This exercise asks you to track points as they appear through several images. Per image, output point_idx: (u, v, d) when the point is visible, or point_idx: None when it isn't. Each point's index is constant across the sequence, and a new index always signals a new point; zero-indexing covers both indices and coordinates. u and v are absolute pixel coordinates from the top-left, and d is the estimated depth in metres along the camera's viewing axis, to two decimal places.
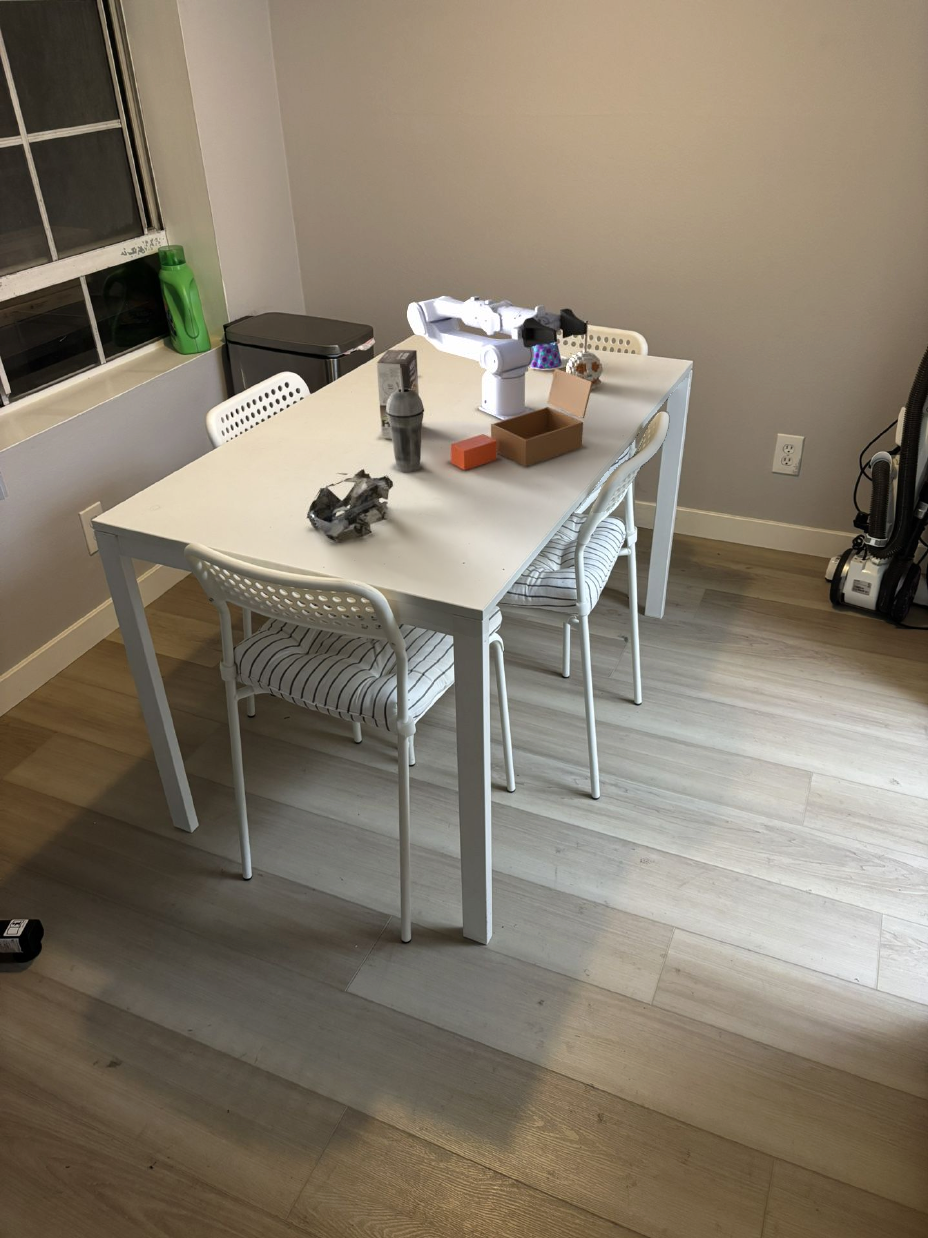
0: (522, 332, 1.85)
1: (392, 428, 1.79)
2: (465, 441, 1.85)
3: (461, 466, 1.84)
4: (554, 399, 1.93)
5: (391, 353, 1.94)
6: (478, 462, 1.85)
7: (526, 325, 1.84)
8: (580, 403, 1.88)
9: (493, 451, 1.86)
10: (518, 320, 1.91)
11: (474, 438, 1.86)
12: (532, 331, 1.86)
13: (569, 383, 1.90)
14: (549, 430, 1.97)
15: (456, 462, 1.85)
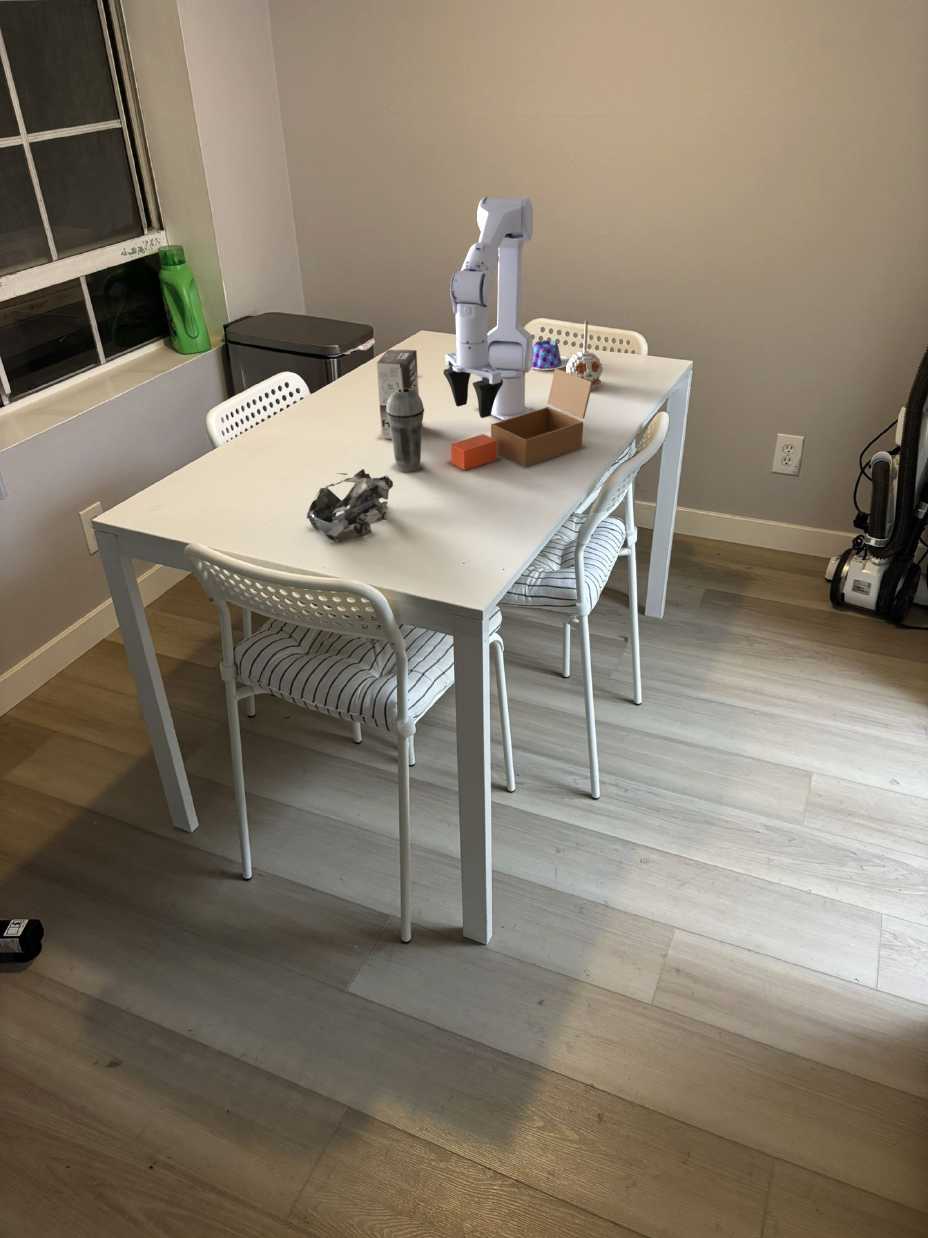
0: None
1: (392, 428, 1.79)
2: (465, 441, 1.85)
3: (461, 466, 1.84)
4: (554, 399, 1.93)
5: (391, 353, 1.94)
6: (478, 462, 1.85)
7: None
8: (580, 403, 1.88)
9: (493, 451, 1.86)
10: None
11: (474, 438, 1.86)
12: None
13: (569, 383, 1.90)
14: (549, 430, 1.97)
15: (456, 462, 1.85)
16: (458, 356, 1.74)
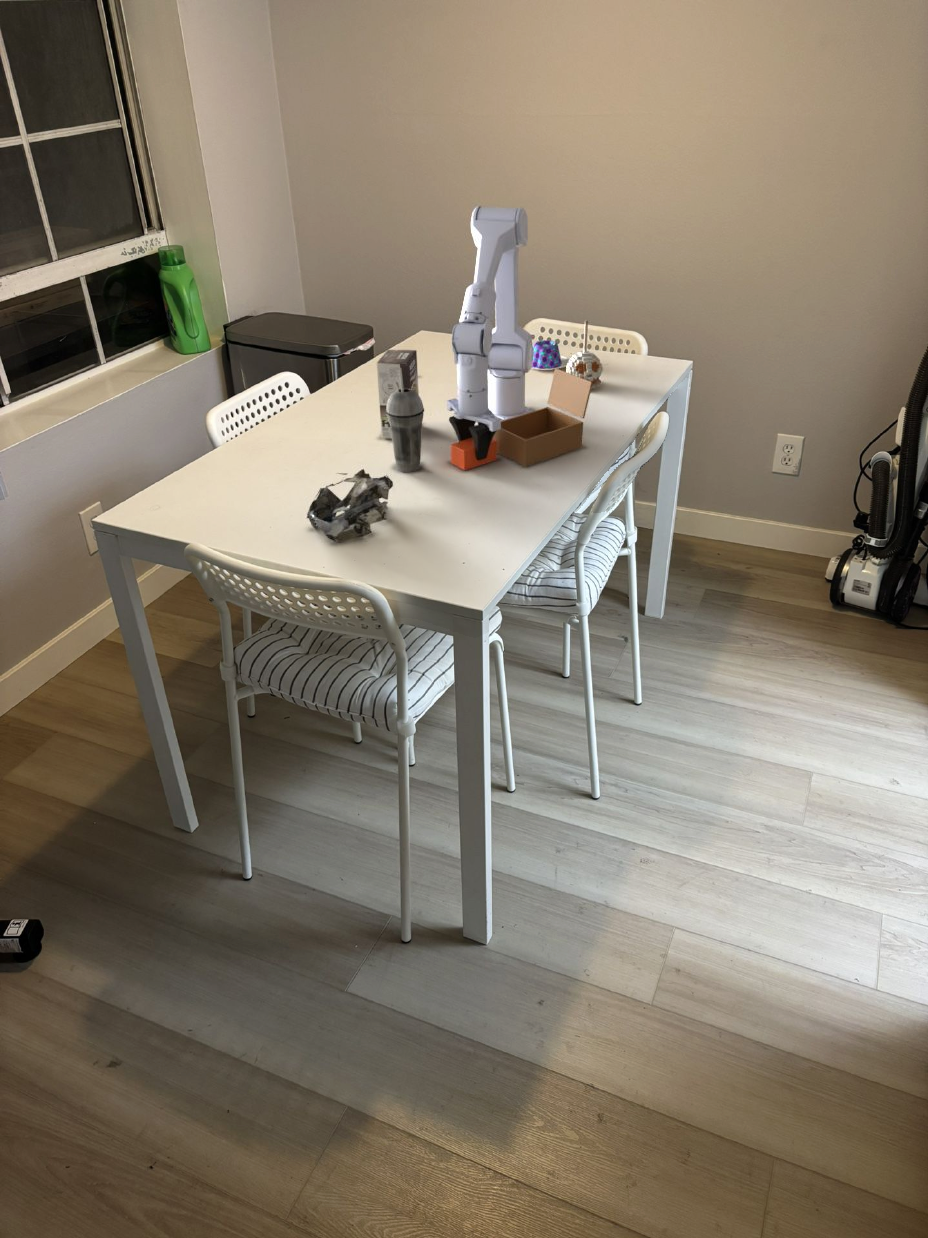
0: None
1: (392, 428, 1.79)
2: (465, 441, 1.85)
3: (461, 466, 1.84)
4: (554, 399, 1.93)
5: (391, 353, 1.94)
6: (478, 462, 1.85)
7: None
8: (580, 403, 1.88)
9: (493, 451, 1.86)
10: None
11: None
12: None
13: (569, 383, 1.90)
14: (549, 430, 1.97)
15: (456, 462, 1.85)
16: (459, 403, 1.79)
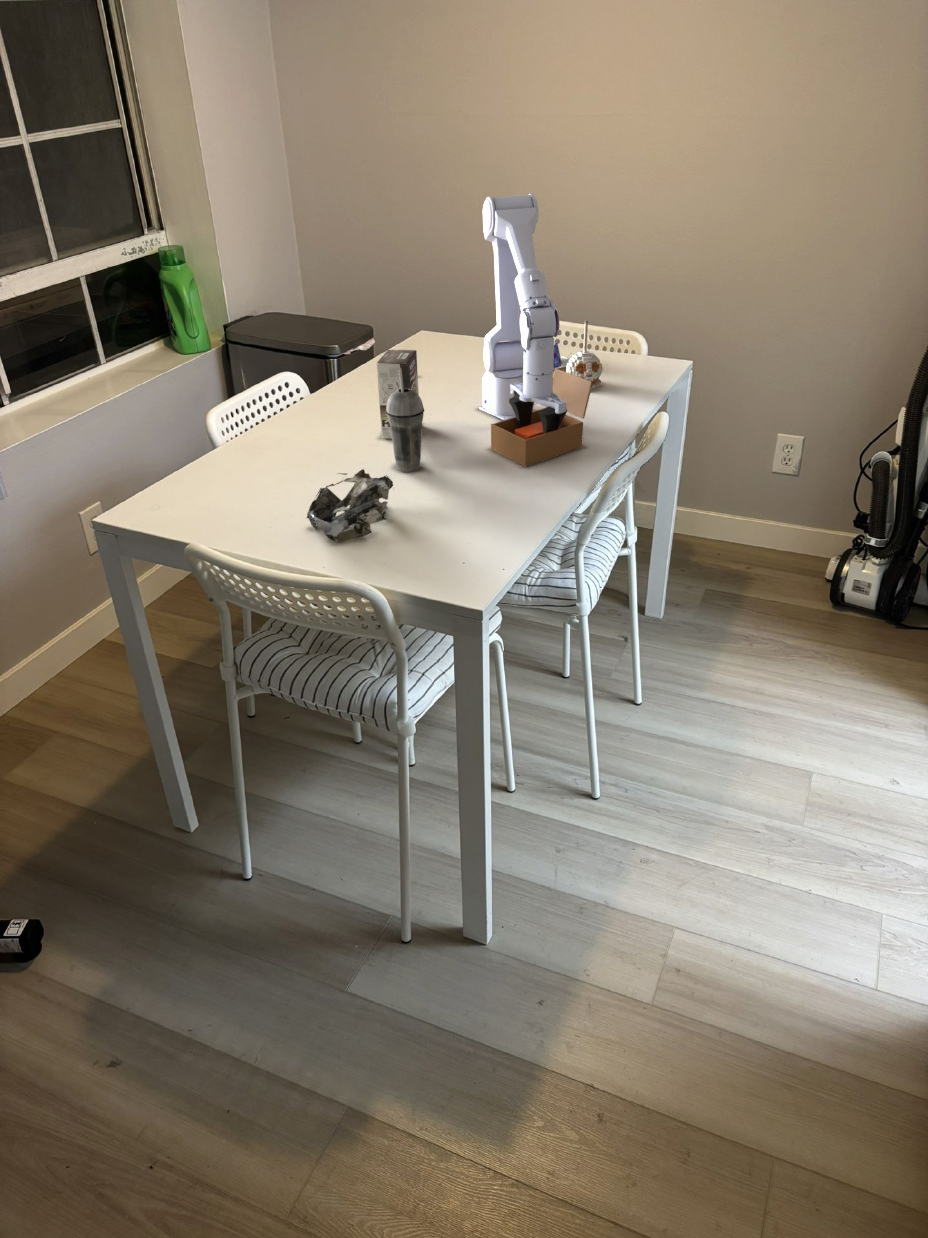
0: None
1: (392, 428, 1.79)
2: (528, 427, 1.89)
3: None
4: None
5: (391, 353, 1.94)
6: None
7: None
8: (580, 403, 1.88)
9: None
10: None
11: (537, 424, 1.91)
12: None
13: (569, 383, 1.90)
14: None
15: None
16: (525, 386, 1.83)
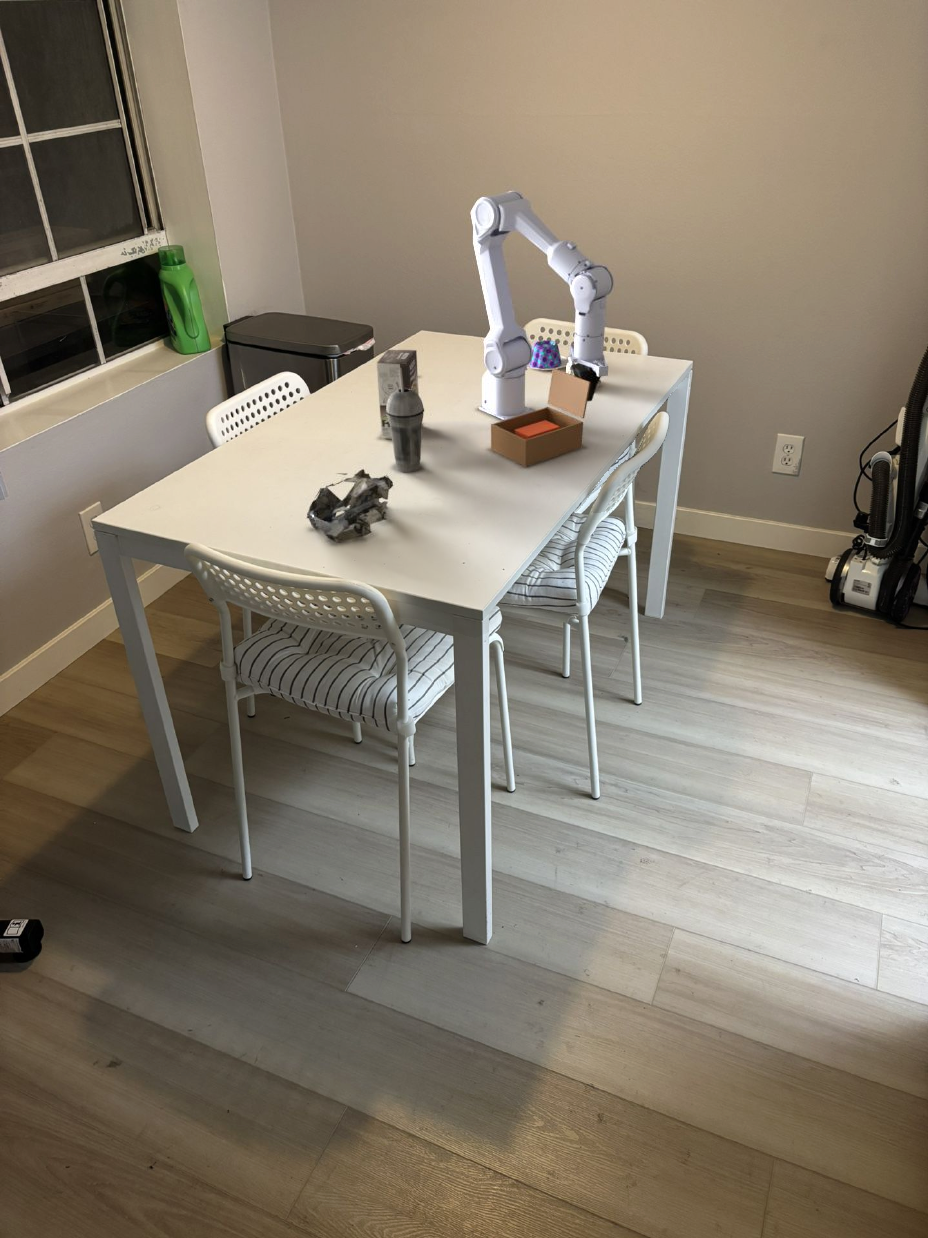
0: None
1: (392, 428, 1.79)
2: (528, 427, 1.89)
3: None
4: (554, 399, 1.93)
5: (391, 353, 1.94)
6: None
7: None
8: (579, 403, 1.88)
9: None
10: None
11: (537, 424, 1.91)
12: None
13: (567, 383, 1.89)
14: None
15: None
16: (574, 347, 1.86)
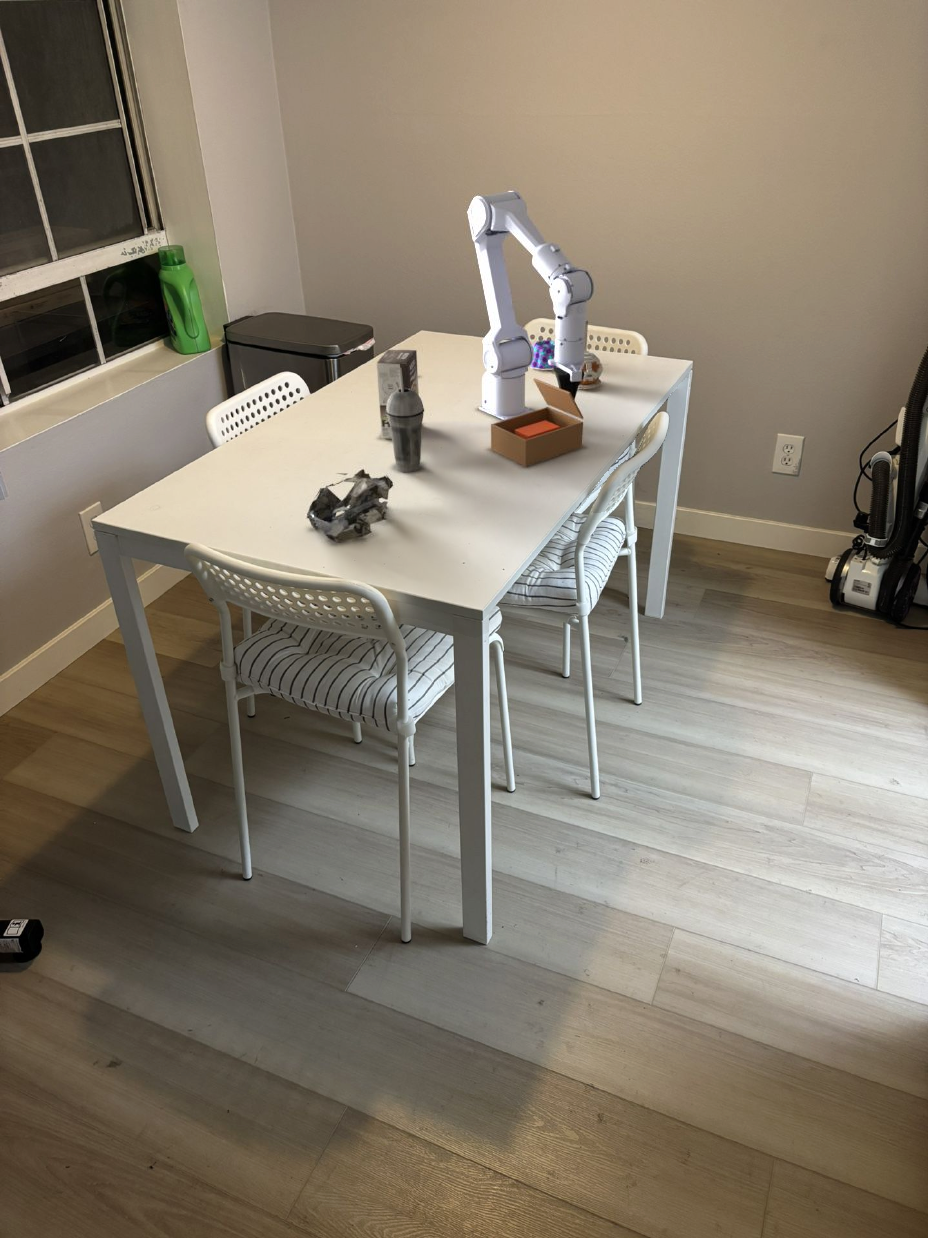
0: None
1: (392, 428, 1.79)
2: (528, 427, 1.89)
3: None
4: (550, 402, 1.93)
5: (391, 353, 1.94)
6: None
7: None
8: (572, 408, 1.87)
9: None
10: None
11: (537, 424, 1.91)
12: None
13: (553, 392, 1.88)
14: None
15: None
16: None
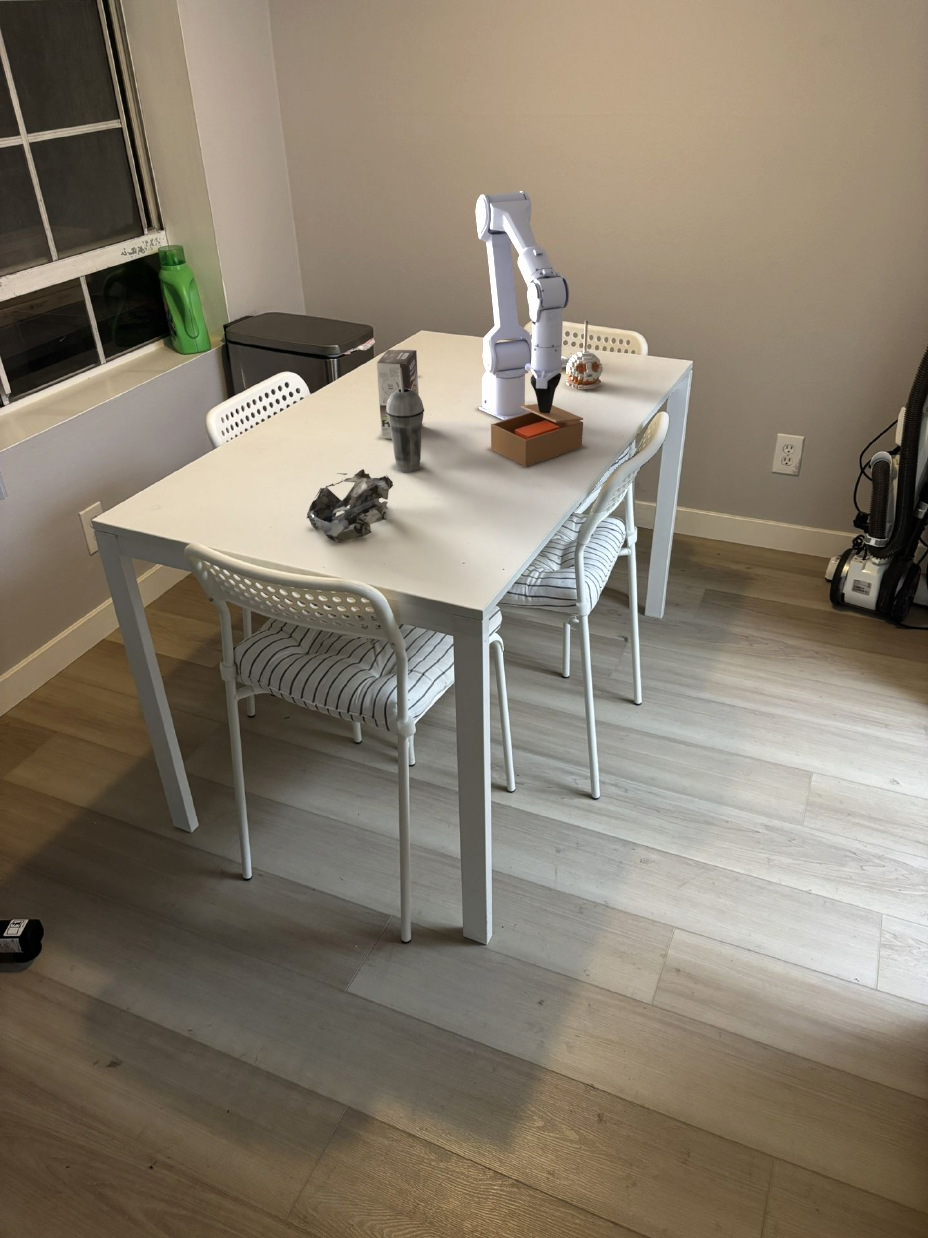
0: None
1: (392, 428, 1.79)
2: (528, 427, 1.89)
3: None
4: None
5: (391, 353, 1.94)
6: None
7: None
8: None
9: None
10: None
11: (537, 424, 1.91)
12: None
13: None
14: None
15: None
16: None
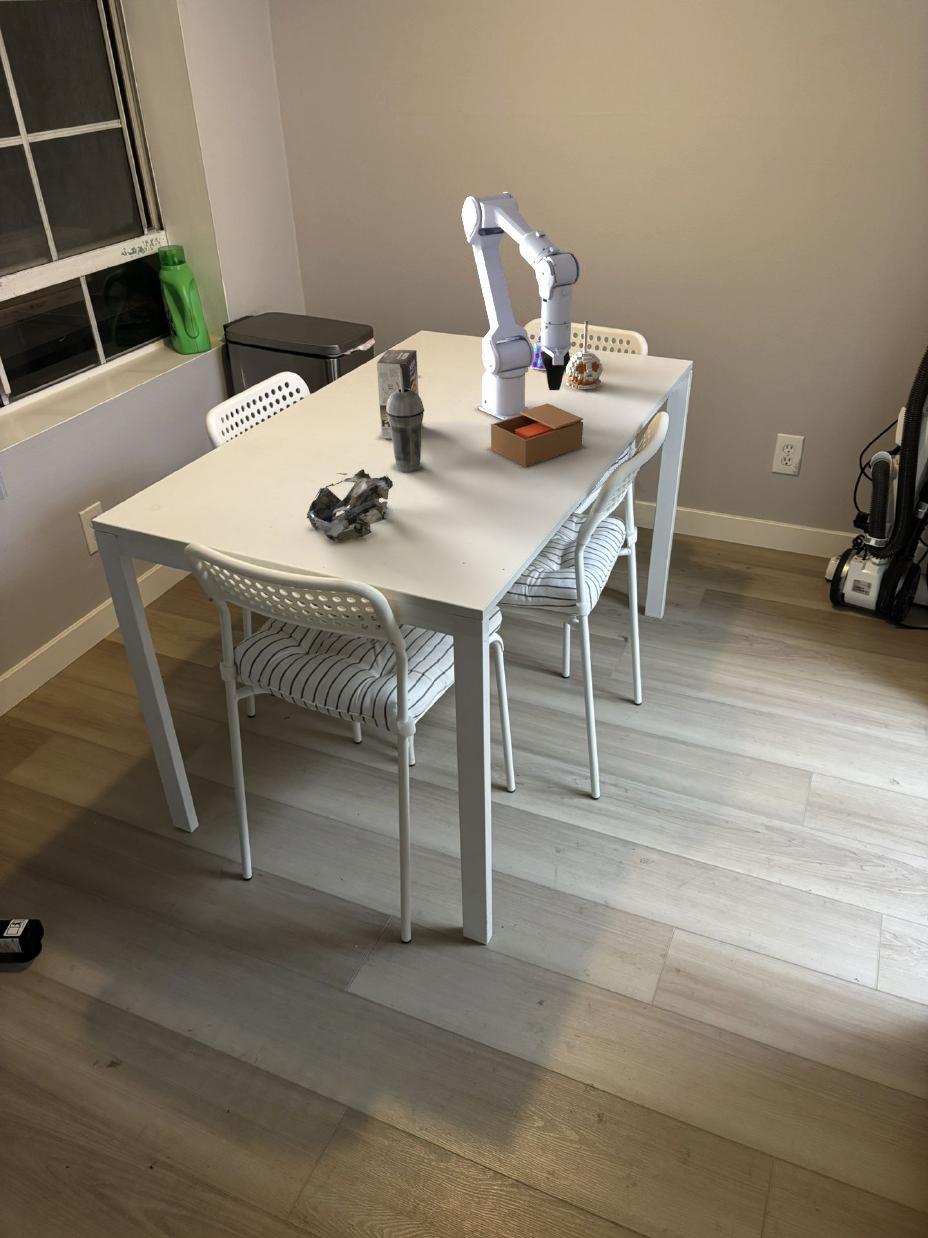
0: None
1: (392, 428, 1.79)
2: (528, 427, 1.89)
3: None
4: None
5: (391, 353, 1.94)
6: None
7: None
8: None
9: None
10: None
11: (537, 424, 1.91)
12: None
13: None
14: None
15: None
16: None
